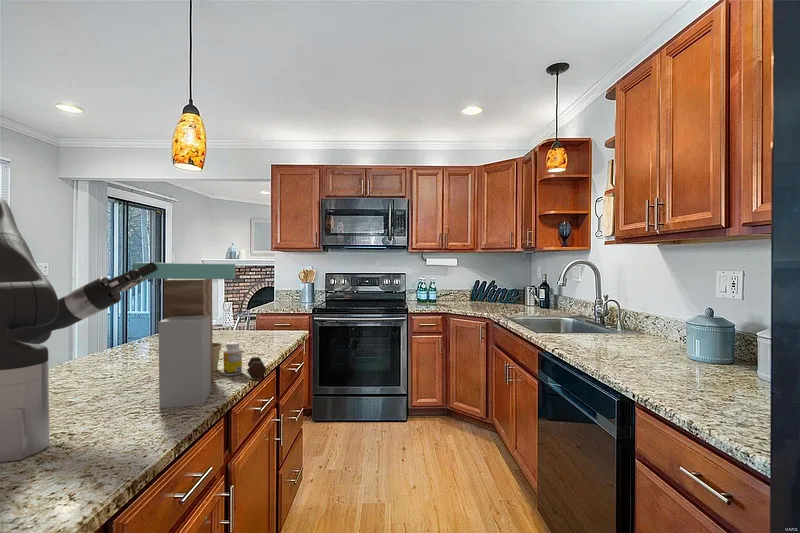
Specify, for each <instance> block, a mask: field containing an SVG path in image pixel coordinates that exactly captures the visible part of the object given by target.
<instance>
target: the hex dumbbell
mask: <svg viewBox="0 0 800 533" xmlns="http://www.w3.org/2000/svg"><path fill="white" fill-rule="evenodd" d="M247 366H248V368H247V373H248V375H249V376H250V378H251V379H260V378H263V376H264V375H265V373H266V372H267V367H266V366H265V365H264V362H263V361H262V359H261V358H260V356H254V357H253V356H252V357H250V359H249V361H248V363H247Z"/></svg>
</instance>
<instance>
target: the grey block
mask: <svg viewBox="0 0 800 533" xmlns="http://www.w3.org/2000/svg"><path fill="white" fill-rule="evenodd" d="M211 383H212V382H211V371H210V315H203V316H171V317H169V318H166V319H162V320H160V321H158V388H159V389H158V392H159V393H158V401H159V403H158V404H159V406H158V409H167V408H169V409H170V408H181V407H182V408H183V407H194V406H203V405H204V404H205V402H206V400H207V399H208V397H209V396H210V394H212V392H211V387H212V386H211Z"/></svg>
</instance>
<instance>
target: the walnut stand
mask: <svg viewBox="0 0 800 533" xmlns="http://www.w3.org/2000/svg"><path fill="white" fill-rule="evenodd" d="M203 315H210V371H211V383H212V381H213V376H214V374H213V373H214V372H213V347H212V343H213V279H164V280H163V318H164V319H166V318H169V317H171V316H203ZM164 319H163V320H164Z"/></svg>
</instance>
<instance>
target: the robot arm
mask: <svg viewBox="0 0 800 533" xmlns="http://www.w3.org/2000/svg"><path fill="white" fill-rule="evenodd" d="M15 220H16V219H15V218H14V215H13V212H12V209H11V207H10V205H9V203H7V201H6V200H5V199H4V198H3V197H1V196H0V463H3V462H15V461H16V462H17V461H21V460H24V459H26V458H27V457H29V456H33V455H35V454H37V453H39V452H42V451H44V450H46V449H47V448H48V447H49V446H50V441H51V440H50V392H49V390H50V386H49V385H50V384H49V383H50V382H49V381H50V380H49V379H50V378H49V377H50V375H49V374H50V373H49V349H48V347H47V346H45V345H42V344H44V343H45V342H47V341H48V340H49V339H50V337H51V335H52V332H53V331H56V330H61V329H66V328H68V327H70V326H73V325H75V324H76V323H78V322H81V321H83V320H84V319H86V318H90V317H91V316H94V315H96V314H99V313H100V312H102V311H105V310H106V309H108V308H110V307H112V306H114V305H116V304H118V303H120V302H121V300H122V295H121V293H122V292H127V291H129V290H132V288H134V287H136V286H138V285H139V284H142V283H143V282H145V281H146V280H147V279H141V278H142V277H143V276H146V275H148V274H150V273H152V272H154V271H156V270H157V269H158V268H157V266H156V264H155V263H161V262H160V261H157V262H153V261H151V262H148V263H149V264H147V265H145V266H143V267H141V268H139V269H135V270H132V269H130V270H128V271H126V272H124V273H122V274H120V275H117V276H114V277H112V278H111V279H109V278H108V277H105V276H102V277H98V278H96V279H94V280H93V281H91V282H88V283H86V284H84V285H82V286H80V287H78V288H77V289H75V290H73V291H71V292H70V293H68V294H67V295H65V296H63V297H60V298H58V295H57V293H56V290H55V288H54V286H53V285H52V284H51V282H50V280H48V278H47V277H46V276H45V274H43V271H42V270H41V269H40V268H39V267H38V265H37V262H36V261H35V259H34V257H33V254H32V252H31V249H30V248H29V245H28V244H27V242H26V240H25V239H24V237H23V235H22V234H21V232H20V231H19V229H18V226H17V223H16V221H15Z"/></svg>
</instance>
